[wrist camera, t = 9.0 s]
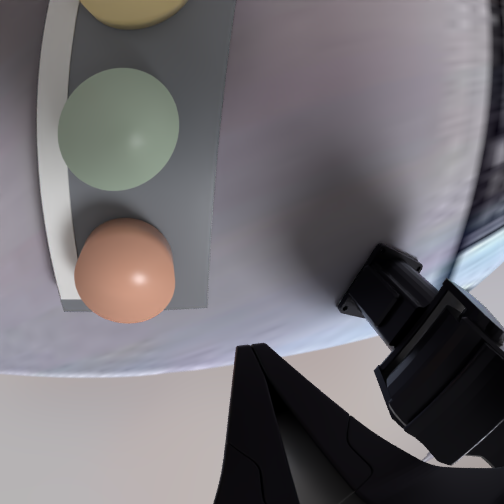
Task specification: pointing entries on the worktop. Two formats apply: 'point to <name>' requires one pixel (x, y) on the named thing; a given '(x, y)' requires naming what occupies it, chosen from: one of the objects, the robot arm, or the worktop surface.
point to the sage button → (118, 129)
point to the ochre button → (132, 12)
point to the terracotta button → (125, 271)
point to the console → (182, 159)
